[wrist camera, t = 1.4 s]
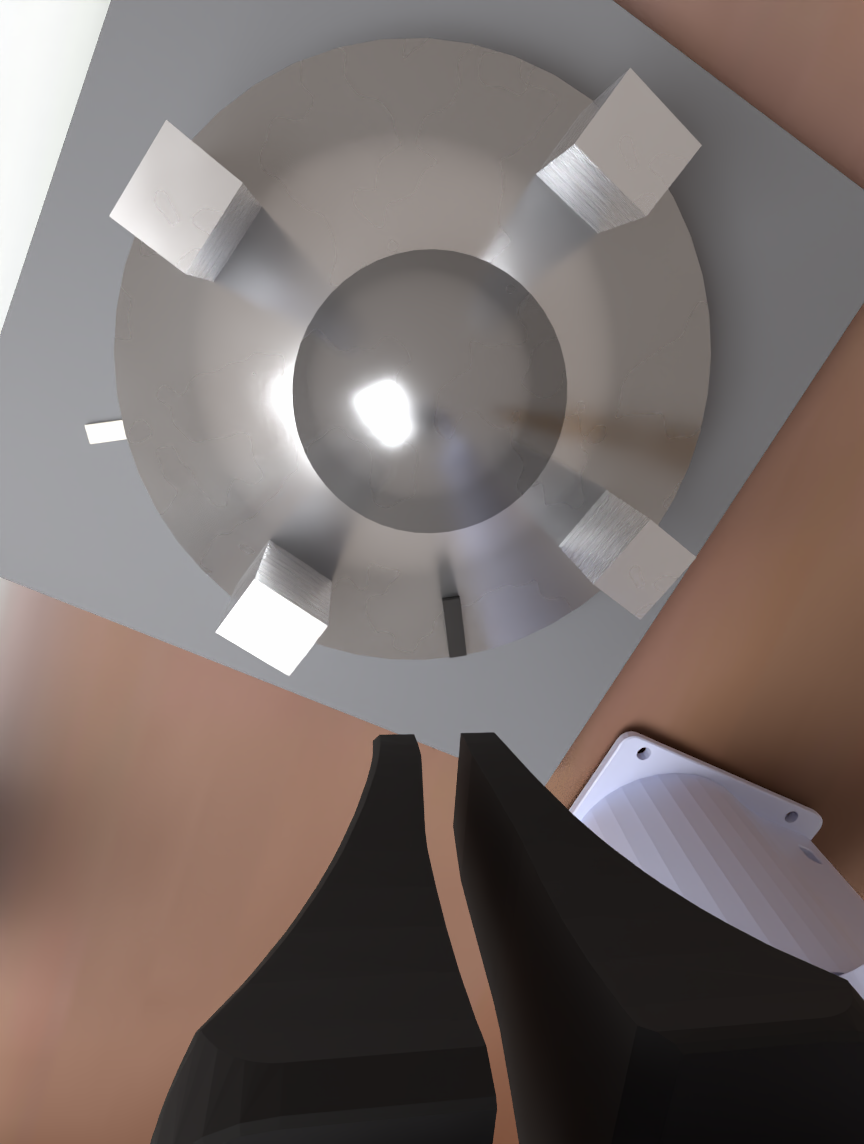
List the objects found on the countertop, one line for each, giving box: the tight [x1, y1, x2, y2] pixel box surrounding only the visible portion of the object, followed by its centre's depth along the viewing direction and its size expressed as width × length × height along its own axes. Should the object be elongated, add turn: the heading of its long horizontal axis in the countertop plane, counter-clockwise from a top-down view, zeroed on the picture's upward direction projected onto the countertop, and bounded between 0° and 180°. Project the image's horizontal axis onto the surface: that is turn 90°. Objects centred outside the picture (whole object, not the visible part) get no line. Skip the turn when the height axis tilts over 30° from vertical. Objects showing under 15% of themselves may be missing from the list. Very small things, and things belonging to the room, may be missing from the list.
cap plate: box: [0, 0, 864, 786], centre depth 20 cm, size 20×20×1 cm
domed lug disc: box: [109, 38, 711, 676], centre depth 17 cm, size 15×15×4 cm
